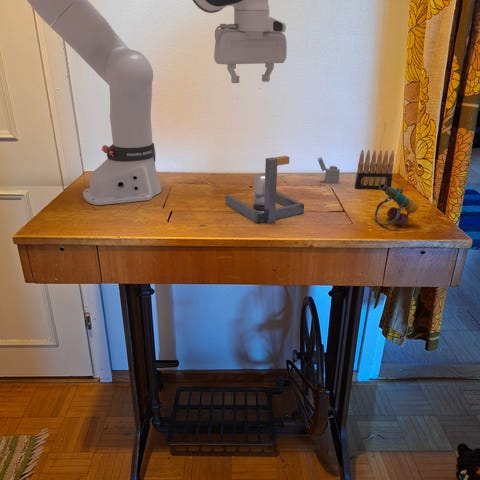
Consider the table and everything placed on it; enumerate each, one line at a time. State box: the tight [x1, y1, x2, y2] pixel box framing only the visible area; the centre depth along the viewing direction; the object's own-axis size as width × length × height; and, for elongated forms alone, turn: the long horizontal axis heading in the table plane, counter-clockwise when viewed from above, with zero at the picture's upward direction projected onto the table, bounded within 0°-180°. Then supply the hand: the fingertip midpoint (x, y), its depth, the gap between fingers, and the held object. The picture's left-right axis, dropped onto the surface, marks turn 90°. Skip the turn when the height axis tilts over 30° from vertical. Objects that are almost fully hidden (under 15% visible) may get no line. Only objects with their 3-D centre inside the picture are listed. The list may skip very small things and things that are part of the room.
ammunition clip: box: [354, 149, 395, 191], centre depth 133 cm, size 11×2×12 cm, turn 86°
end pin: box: [253, 172, 265, 212], centre depth 117 cm, size 5×5×9 cm
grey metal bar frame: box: [225, 155, 305, 225], centre depth 114 cm, size 14×18×16 cm
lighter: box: [317, 156, 341, 184], centre depth 139 cm, size 7×2×8 cm, turn 84°
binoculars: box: [374, 184, 420, 227], centre depth 108 cm, size 9×9×10 cm
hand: (250, 82), depth 117 cm, fingers open, 8 cm apart
